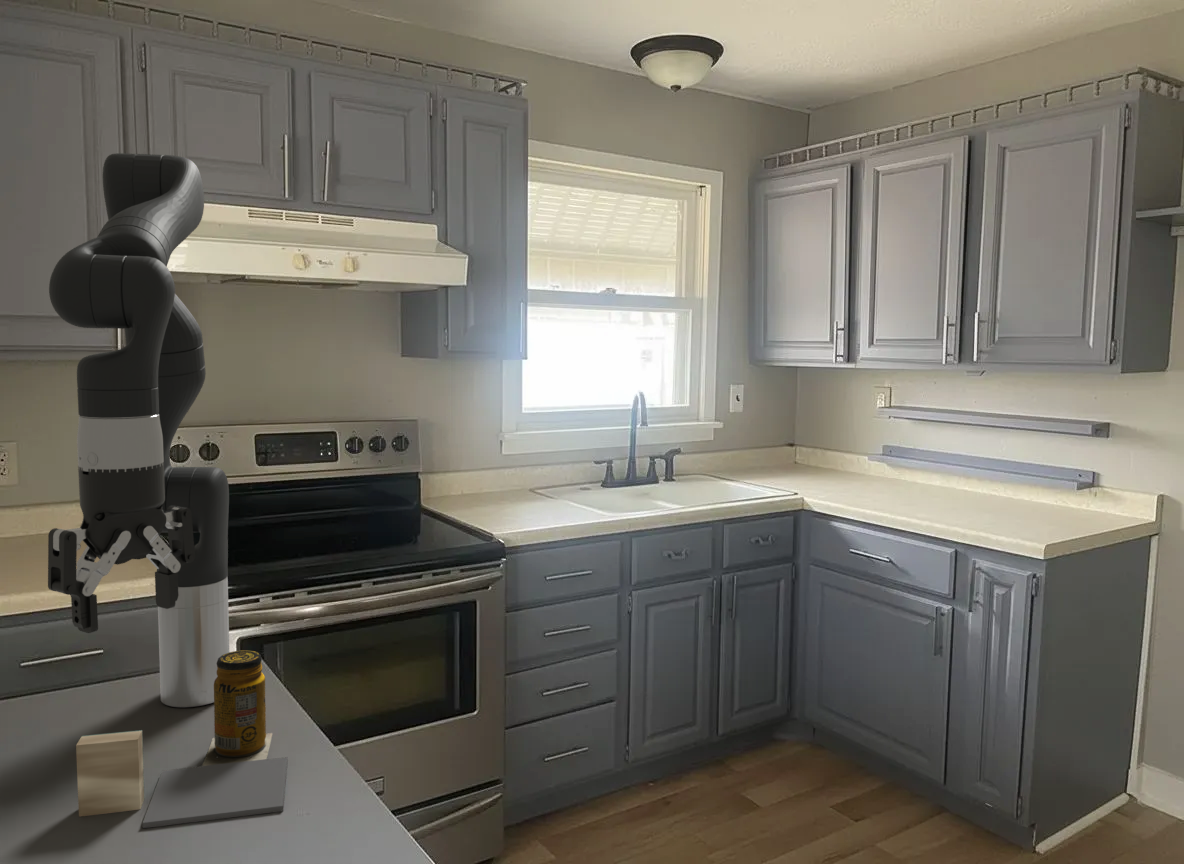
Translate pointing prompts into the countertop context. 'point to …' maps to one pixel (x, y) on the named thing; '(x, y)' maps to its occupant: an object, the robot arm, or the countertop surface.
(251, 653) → the condiment
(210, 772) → the mat
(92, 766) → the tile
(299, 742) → the countertop surface
